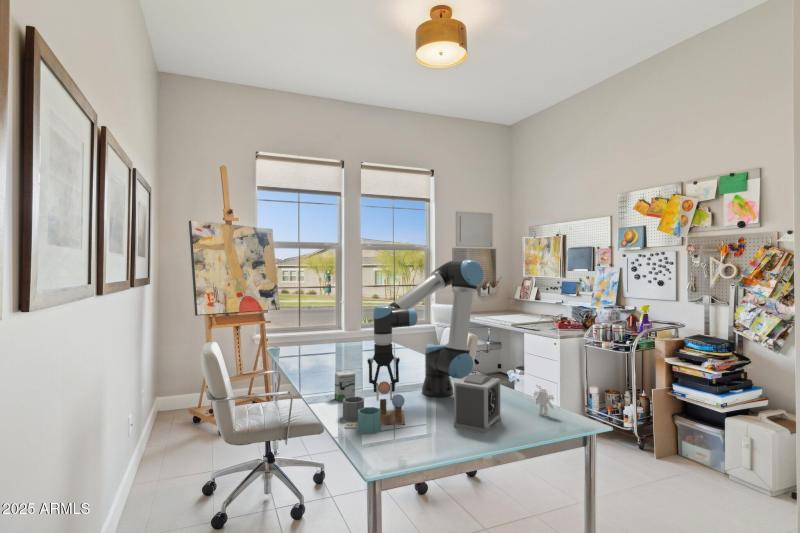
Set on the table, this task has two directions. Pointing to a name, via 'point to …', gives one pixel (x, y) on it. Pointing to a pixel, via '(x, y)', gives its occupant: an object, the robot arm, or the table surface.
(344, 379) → the ink box
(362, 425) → the tube teal
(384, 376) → the table surface
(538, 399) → the blocky character figurine
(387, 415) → the stand
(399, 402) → the ball slate
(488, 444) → the table surface
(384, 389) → the ball terracotta
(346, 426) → the card
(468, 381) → the alarm clock
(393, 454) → the table surface
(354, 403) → the tube charcoal
